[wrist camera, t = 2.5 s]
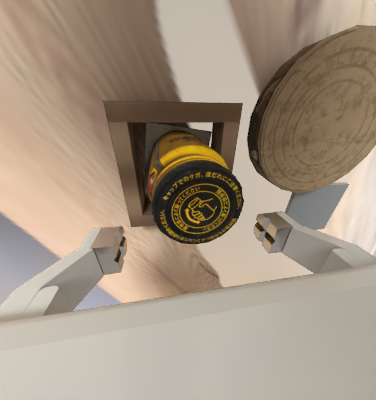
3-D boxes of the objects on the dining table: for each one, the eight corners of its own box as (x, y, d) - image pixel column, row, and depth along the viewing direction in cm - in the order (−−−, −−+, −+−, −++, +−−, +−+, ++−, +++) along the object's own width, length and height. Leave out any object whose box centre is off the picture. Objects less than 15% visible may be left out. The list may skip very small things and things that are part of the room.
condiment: (211, 131, 18) (281, 157, 7) (198, 196, 22) (232, 271, 11) (145, 121, 16) (121, 137, 6) (144, 193, 20) (128, 276, 10)
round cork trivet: (380, 0, 15) (427, -25, 12) (363, 149, 23) (389, 154, 20) (229, 93, 16) (242, 89, 14) (262, 201, 24) (274, 212, 22)
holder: (114, 103, 15) (103, 100, 12) (227, 104, 17) (242, 103, 14) (135, 210, 21) (131, 227, 18) (216, 204, 23) (224, 218, 20)
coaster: (295, 185, 23) (298, 187, 23) (345, 182, 25) (349, 184, 24) (277, 231, 28) (279, 233, 27) (320, 226, 29) (323, 228, 29)
